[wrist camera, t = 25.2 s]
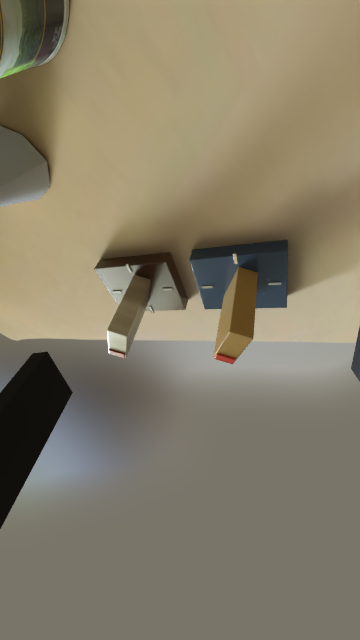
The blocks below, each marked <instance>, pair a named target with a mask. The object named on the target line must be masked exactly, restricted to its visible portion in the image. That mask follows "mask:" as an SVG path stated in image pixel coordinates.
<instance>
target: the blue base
mask: <svg viewBox="0 0 360 640" xmlns="http://www.w3.org/2000/svg"><path fill="white" fill-rule="evenodd" d="M189 261H190V264H191V267H192V270H193V273H194V276H195V279H196V283H197V286H198V289H199V292H200V295H201V298H202V301H203V304H204V308H205V309H222V303H223V298H224V295H225V293H226V291H227V289H228V287H229V285H230V283H231V281H232V279H233V277H234V275H235V273H236V271H237V269H238V267H241V268H245V269H248V270H251V271H254V272H257V273H258V277H257V292H256V306H255V308H286V307H287V265H288V243H287V240H282V241H273V242H263V243H254V244H245V245H235V246H226V247H217V248H207V249H198V250H192V253H191V256H190V259H189Z"/></svg>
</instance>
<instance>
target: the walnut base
mask: <svg viewBox="0 0 360 640" xmlns="http://www.w3.org/2000/svg"><path fill="white" fill-rule="evenodd" d="M95 271H96V272H97V274H98V275H99V277H100V278H101V280H102V281H103V283H104V284H105V286H106V287H107V289H108V290H109V292H110V293H111V295H112V296H113V298H114V299H115V301H116V302H117V304H118V305H120V303H121V301H122V299H123V296H124V294H125V292H126V290H127V288H128V286H129V284H130V282H131V280H132V278H133V276H134V275H137V276H140V277H143V278H146V279H150V280H151V282H150V290H149V297H148V304H147V307H146V309H145V311H149V310H151V312H152V313H154V311H153V310H185V309H186V305H187V302H188V299H187V296H186V294H185V291H184V288H183V286H182V283H181V280H180V278H179V275H178V272H177V270H176V267H175V264H174V262H173V259H172V256H171V254H170V252H169V253H160V254H150V255H141V256H132V257H122V258H113V259H103V260H100V261H99V262H98V264H97V265H96V267H95Z"/></svg>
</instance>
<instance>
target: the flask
mask: <svg viewBox="0 0 360 640" xmlns="http://www.w3.org/2000/svg"><path fill="white" fill-rule="evenodd" d="M49 188H50V181H49V173H48V166H47V161H46V160H45V159H44V158H43V157H42V156H41V155H40V153H39V152H38V151H37V150H36V149H35V148H34V147H33V146H32V145H31V144H30V143H29V142H28V141H27V140H26V138H25V137H24V136H23V135H21V134H19V133H17V132H14V131H12V130H9V129H7V128H4V127H2V126H0V207H1V206H6V205H10V204H15V203H21V202H27V201H33V200H37V199H39V198H40V197H41V196H42V195H43V194H44V193H45V192H46V191H47V190H48V189H49Z"/></svg>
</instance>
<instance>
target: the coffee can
mask: <svg viewBox="0 0 360 640" xmlns="http://www.w3.org/2000/svg"><path fill="white" fill-rule="evenodd" d="M68 18H69V0H0V78H3V77H6V76H8V75H11V74H14V73H17V72H20V71H23V70H25V69H28V68H31V67H37V66H41V65H43V64H45V63H47V62H49V61H50V60H51V59H52V58H53V57H54V56H55V55H56V54H57V52H58V51H59V49H60V47H61V46H62V43H63V41H64V39H65V35H66V31H67V26H68Z"/></svg>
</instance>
